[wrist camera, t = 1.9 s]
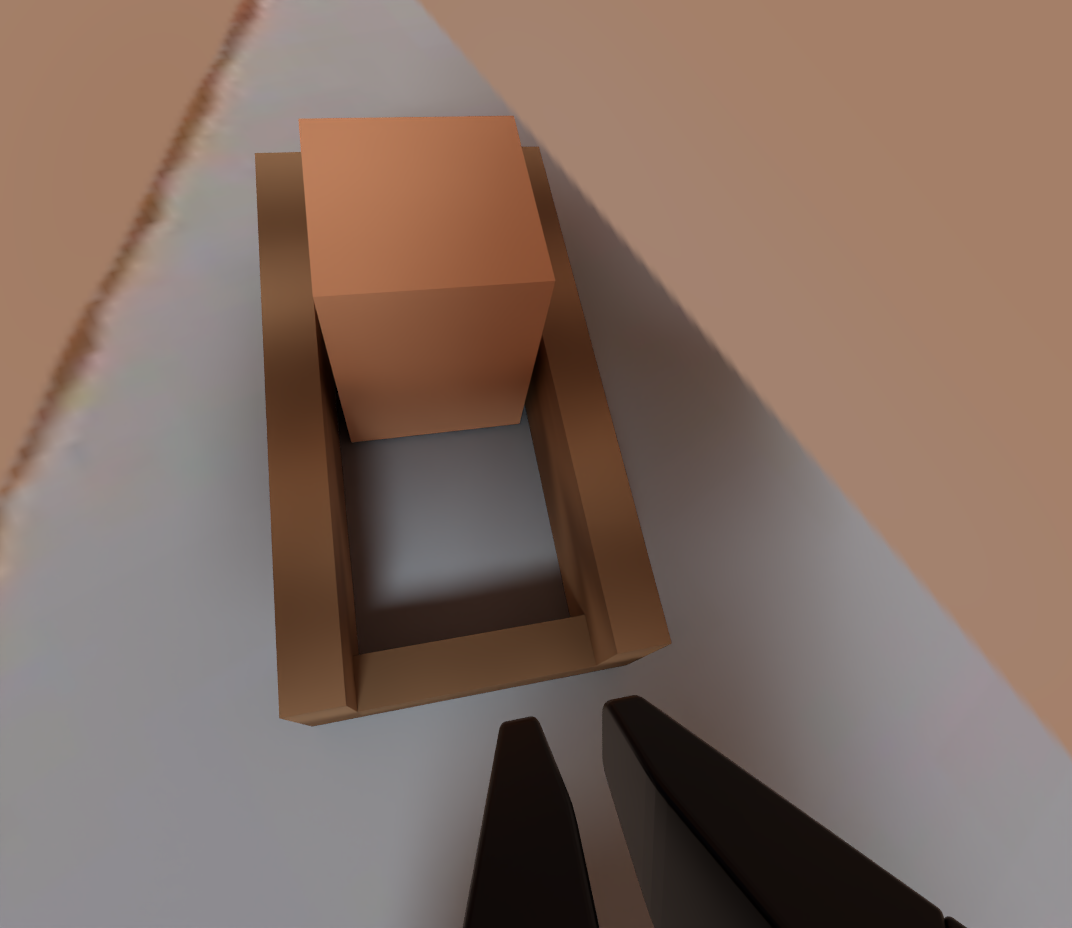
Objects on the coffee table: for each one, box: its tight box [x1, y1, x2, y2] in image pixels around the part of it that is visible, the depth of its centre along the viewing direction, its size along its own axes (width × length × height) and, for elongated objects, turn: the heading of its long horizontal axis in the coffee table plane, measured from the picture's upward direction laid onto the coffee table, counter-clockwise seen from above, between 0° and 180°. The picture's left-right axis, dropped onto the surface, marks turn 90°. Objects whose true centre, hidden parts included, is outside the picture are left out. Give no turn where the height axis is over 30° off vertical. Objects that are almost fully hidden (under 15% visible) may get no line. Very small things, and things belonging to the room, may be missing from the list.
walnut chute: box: [255, 147, 671, 726], centre depth 22 cm, size 18×10×4 cm, turn 11°
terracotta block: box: [299, 116, 555, 442], centre depth 21 cm, size 6×6×8 cm
